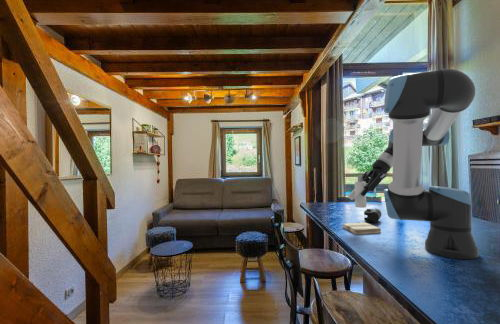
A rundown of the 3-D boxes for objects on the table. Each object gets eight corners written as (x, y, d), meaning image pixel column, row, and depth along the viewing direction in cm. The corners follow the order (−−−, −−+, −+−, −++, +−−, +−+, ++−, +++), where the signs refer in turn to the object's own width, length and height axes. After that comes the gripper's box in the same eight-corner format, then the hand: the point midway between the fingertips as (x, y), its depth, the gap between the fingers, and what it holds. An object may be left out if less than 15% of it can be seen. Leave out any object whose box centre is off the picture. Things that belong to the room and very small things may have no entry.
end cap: (379, 225, 128) (378, 212, 128) (364, 223, 132) (363, 210, 132) (381, 220, 136) (381, 208, 136) (367, 219, 140) (367, 207, 140)
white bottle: (368, 207, 118) (367, 175, 117) (358, 207, 117) (358, 176, 117) (362, 205, 122) (361, 175, 122) (353, 205, 122) (352, 175, 122)
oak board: (380, 232, 114) (380, 228, 114) (356, 234, 113) (356, 230, 113) (365, 226, 126) (365, 222, 126) (343, 227, 125) (343, 223, 125)
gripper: (402, 169, 113) (369, 207, 111) (377, 168, 130) (348, 201, 128) (391, 158, 112) (358, 196, 110) (367, 158, 130) (338, 191, 128)
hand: (353, 199), depth 119 cm, fingers closed on white bottle, 5 cm apart
